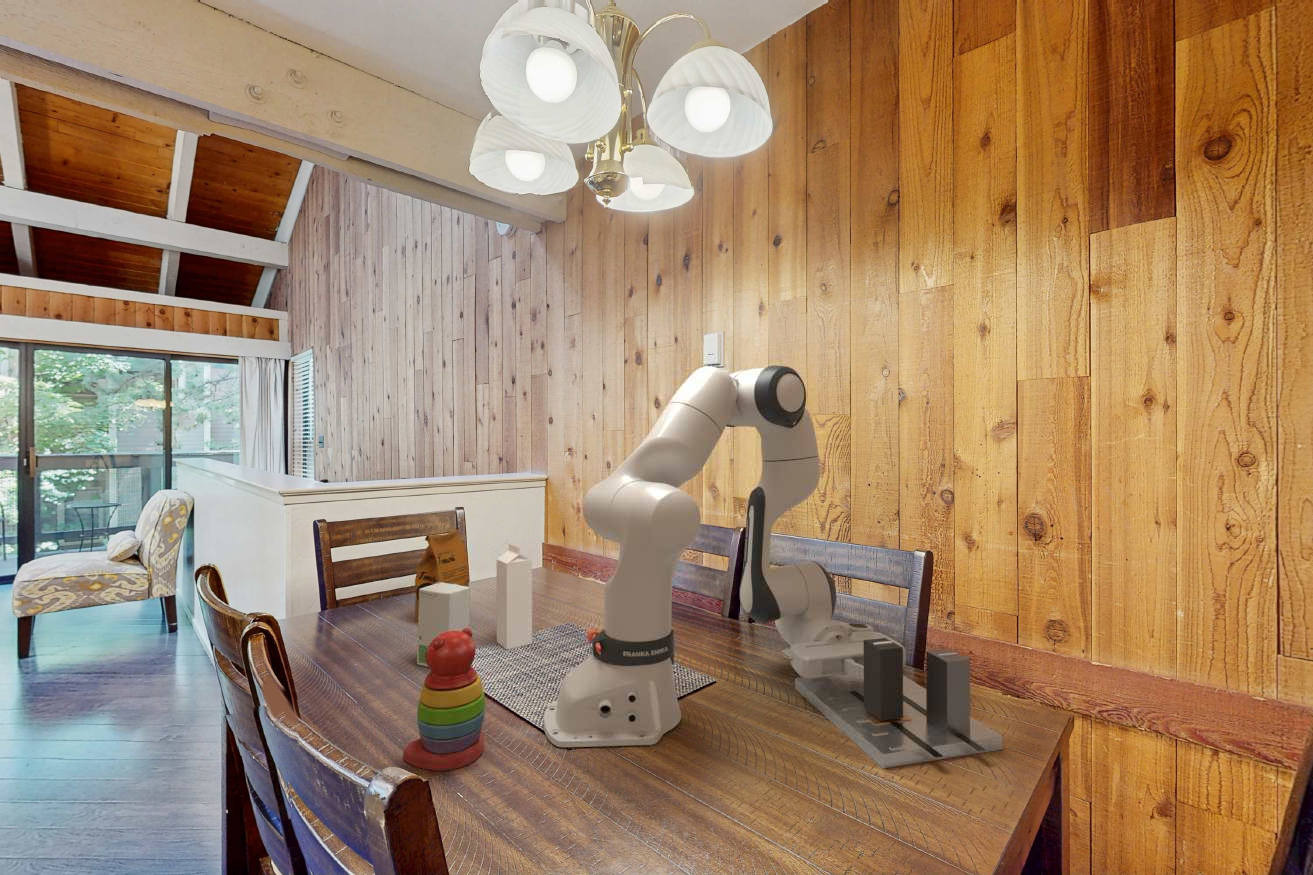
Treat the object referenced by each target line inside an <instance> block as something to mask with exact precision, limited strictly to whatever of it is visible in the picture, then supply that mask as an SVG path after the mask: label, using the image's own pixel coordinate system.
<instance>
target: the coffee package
mask: <svg viewBox="0 0 1313 875" xmlns="http://www.w3.org/2000/svg"><path fill="white" fill-rule="evenodd" d="M424 540H425V541H426V542H427V544H428V546H427V547H426V549H425V551H424V556H423V558H422V559H421V561H420V563H419V565H418V567H417V570H416V574H415V575H416V576H415V579H414V588H415V599H414V600H415V603H414V617H415V620H416V622H417V623H418V615H419V589H421V588H424V587H427V586H430V585H433V584H436V583H440V582H442V583H448V584H457V585H460V586H466V587H470V584H469V583H470V582H469V581H470V580H469V579H470V578H469V577H470V575H469V574H470V573H469V561H468V553H467V551H466V547H465V545H464V542H463V541H462V538H461V535H460V533H459V530H458V529H453V530H451V531H449V532H448V533H445V534H431V535H430V534H426V536H425V538H424Z"/></svg>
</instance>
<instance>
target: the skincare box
mask: <svg viewBox="0 0 1313 875" xmlns="http://www.w3.org/2000/svg"><path fill="white" fill-rule="evenodd" d="M470 604H471V587H470V586H469V587H466V586H460V585H457V584H448V583H442V582H440V583H436V584H433V585H430V586H427V587H424V588H421V589H419V615H418V622H417V650H416V651H417V652H416V654H417V656H416V664H417V665H418V666H422V667H427V668H429V667H428V665H427V663H426V660H425V651H426V649H427V647H428V646H429V644H430V643H431V642H432V641H433V639H434V638H436V637H437V636H438V635H440V634H442V633H444V632H448V631H462V630H463V629H464V628H469V629H470V607H471V605H470Z"/></svg>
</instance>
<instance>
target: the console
mask: <svg viewBox="0 0 1313 875" xmlns="http://www.w3.org/2000/svg"><path fill="white" fill-rule="evenodd" d="M925 658H926V659H925V662H926V663H925V664H926V668H925V671H926V674H925V675H926V677H925V678H926V680H925V681H926V688H925V687H923V686H921V685H920V684H918V683H916V682H915V681H913V680H912V679H910V678H908V677H907V676H906V675H903V718H899V719H892V720H885V721H880V720H879V719H877V718H876V717H875V716H873V715H872V714H871V713H870V712H868V711H867V710H866V709H864V679H862V678H861V677H858V676H853V675H849V674H847V675H838V676H829V677H820V678H811V679H808V678H804V677H795V678H794V690H796V691H797V692H798V693H799V694H800V695H801V696H802V697H804V698H805V699H806V701H807V702H808V703H810V704H811V705H812V706H813V707H815V708H816V709H817V710H818V711H819V712H820V713H821V714H822V715H824V717H825V718H827V719H828V720H829V721H830V722H831V723H832V724H833V725H834V726H836V728H837V729H839V730H840V731H841V732H842V733H843V734H844V735H845V736H846V737H848V739H850V740H851V741H852V742H853V743H855V744H856V746H858V747H859V748H860V749H861V750H862V751H863V752H864V753H866V754H867V755H868V757H870V758H871V759H872V760H873V762H875V763H876V764H878V765H879V766H880V767H881V768H882V769H888V768H895V767H896V768H897V767H901V766H907V765H913V764H922V763H927V762H933V761H939V760H945V759H952V758H958V757H959V758H960V757H963V756H965V757H966V756H970V755H971V756H972V755H978V754H984V753H990V752H996V751H1001V750H1003V736H1002V735H1001V733H999V732H996V731H994V730H993V729H992V728H990V727H988V726H986V725H985V724H983V723H982V722H980V721H978V720H977V719H975V718H974V717H972V716H971V660H970V659H969V658H967V657H965V656H964V655H961V654H959V653H958V652H955V651H954V650H951V649H949V648H944V649H936V650H927V651H926V654H925Z"/></svg>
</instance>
